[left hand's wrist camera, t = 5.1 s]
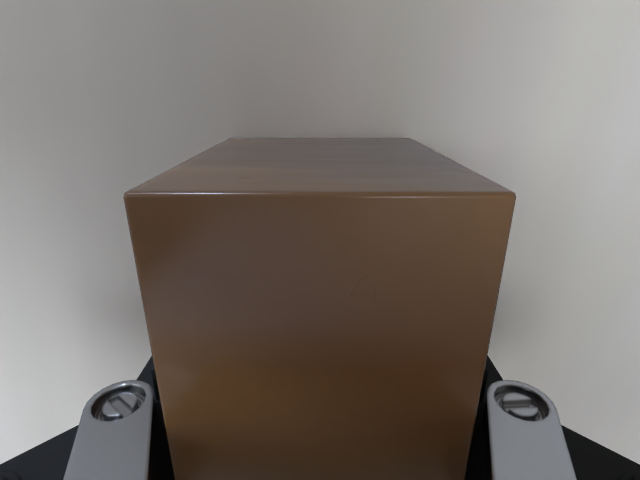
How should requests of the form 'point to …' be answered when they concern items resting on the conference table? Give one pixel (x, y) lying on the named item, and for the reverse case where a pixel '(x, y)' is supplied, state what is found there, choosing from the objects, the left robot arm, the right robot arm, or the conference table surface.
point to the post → (319, 307)
